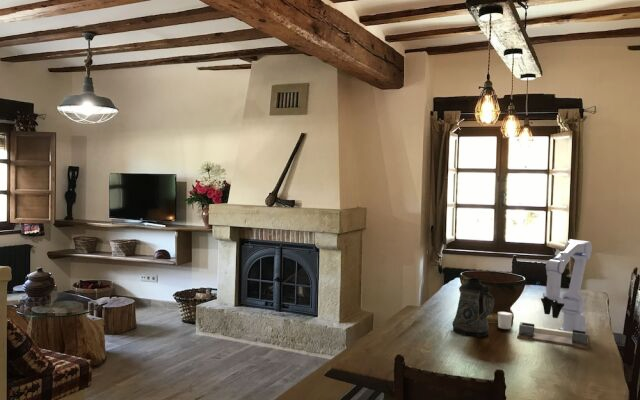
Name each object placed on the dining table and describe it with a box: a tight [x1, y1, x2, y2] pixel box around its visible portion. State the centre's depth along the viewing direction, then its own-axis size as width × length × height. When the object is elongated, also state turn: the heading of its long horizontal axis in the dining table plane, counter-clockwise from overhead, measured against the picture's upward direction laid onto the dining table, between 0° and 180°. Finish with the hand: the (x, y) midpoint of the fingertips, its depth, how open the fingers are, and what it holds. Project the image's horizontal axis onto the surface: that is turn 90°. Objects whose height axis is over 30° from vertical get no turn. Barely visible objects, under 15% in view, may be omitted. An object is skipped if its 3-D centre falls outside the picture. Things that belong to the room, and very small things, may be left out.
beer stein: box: [451, 277, 495, 338], centre depth 250 cm, size 16×19×25 cm
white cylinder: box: [497, 311, 513, 330], centre depth 262 cm, size 7×7×7 cm
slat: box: [534, 325, 573, 338], centre depth 251 cm, size 24×3×3 cm, turn 65°
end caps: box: [518, 321, 589, 345], centre depth 243 cm, size 28×6×4 cm, turn 64°
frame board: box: [516, 332, 589, 350], centre depth 243 cm, size 29×10×1 cm, turn 64°
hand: (551, 316), depth 245 cm, fingers open, 7 cm apart
